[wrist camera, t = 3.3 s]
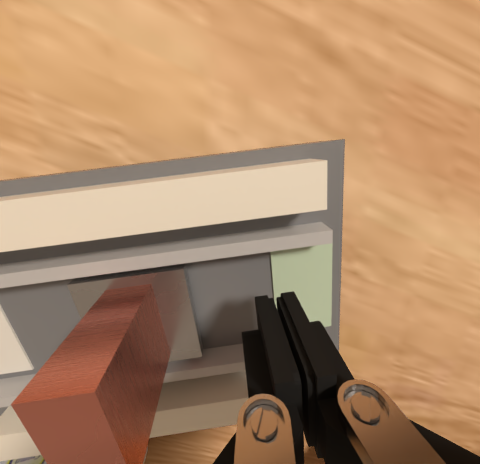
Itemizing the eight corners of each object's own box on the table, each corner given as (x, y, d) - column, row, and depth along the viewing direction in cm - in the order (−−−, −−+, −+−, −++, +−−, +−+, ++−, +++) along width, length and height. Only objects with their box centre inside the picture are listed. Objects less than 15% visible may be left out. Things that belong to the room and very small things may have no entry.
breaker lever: (185, 262, 11) (151, 367, 6) (203, 347, 13) (189, 489, 7) (75, 277, 11) (-65, 399, 6) (107, 361, 12) (24, 516, 7)
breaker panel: (321, 141, 12) (370, 137, 8) (321, 350, 17) (353, 413, 13) (-78, 190, 12) (-236, 211, 8) (35, 393, 16) (-27, 473, 12)
